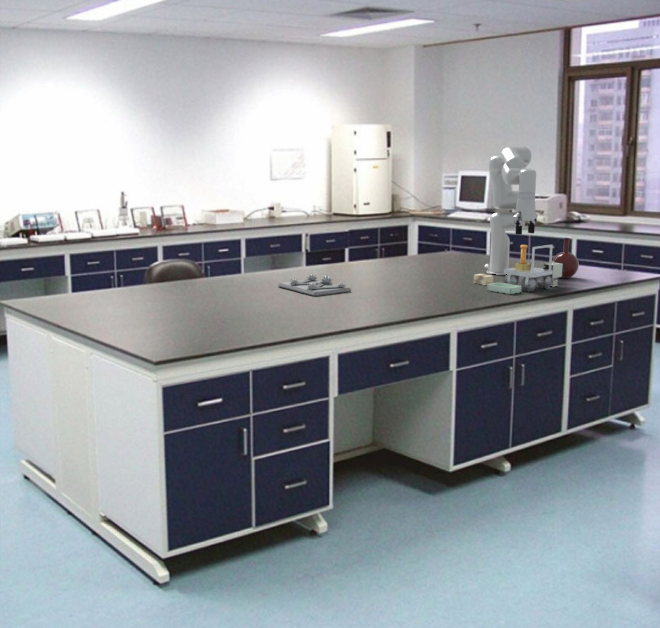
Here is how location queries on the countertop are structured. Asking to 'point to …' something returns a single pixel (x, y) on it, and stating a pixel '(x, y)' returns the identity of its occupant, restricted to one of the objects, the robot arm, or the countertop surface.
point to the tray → (504, 288)
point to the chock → (483, 279)
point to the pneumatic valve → (555, 272)
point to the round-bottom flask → (567, 260)
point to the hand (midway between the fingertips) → (524, 233)
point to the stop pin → (523, 253)
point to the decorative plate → (315, 286)
